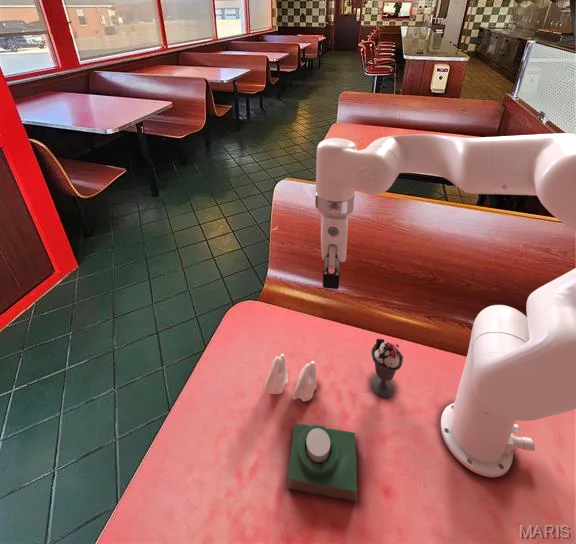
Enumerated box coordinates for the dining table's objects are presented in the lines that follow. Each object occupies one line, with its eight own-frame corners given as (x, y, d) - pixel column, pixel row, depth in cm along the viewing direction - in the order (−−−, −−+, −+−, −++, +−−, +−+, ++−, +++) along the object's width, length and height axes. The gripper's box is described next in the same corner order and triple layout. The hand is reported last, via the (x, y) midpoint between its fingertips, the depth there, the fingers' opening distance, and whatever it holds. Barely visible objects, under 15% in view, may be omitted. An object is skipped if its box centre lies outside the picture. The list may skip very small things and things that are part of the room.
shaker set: (262, 398, 74) (260, 363, 70) (265, 379, 78) (263, 345, 74) (316, 404, 72) (317, 369, 68) (316, 385, 76) (317, 350, 72)
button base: (353, 441, 66) (355, 426, 64) (355, 501, 57) (357, 485, 56) (294, 432, 67) (294, 416, 66) (288, 488, 59) (287, 472, 57)
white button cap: (330, 436, 63) (330, 430, 62) (329, 465, 59) (330, 458, 58) (307, 433, 63) (307, 426, 62) (305, 460, 59) (305, 454, 58)
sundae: (399, 404, 72) (407, 356, 67) (368, 398, 73) (373, 350, 68) (396, 375, 78) (403, 329, 73) (367, 370, 79) (372, 324, 74)
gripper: (355, 226, 56) (349, 303, 62) (352, 183, 72) (347, 248, 78) (312, 223, 57) (310, 299, 63) (318, 181, 73) (316, 245, 79)
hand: (331, 271), depth 71 cm, fingers open, 9 cm apart
